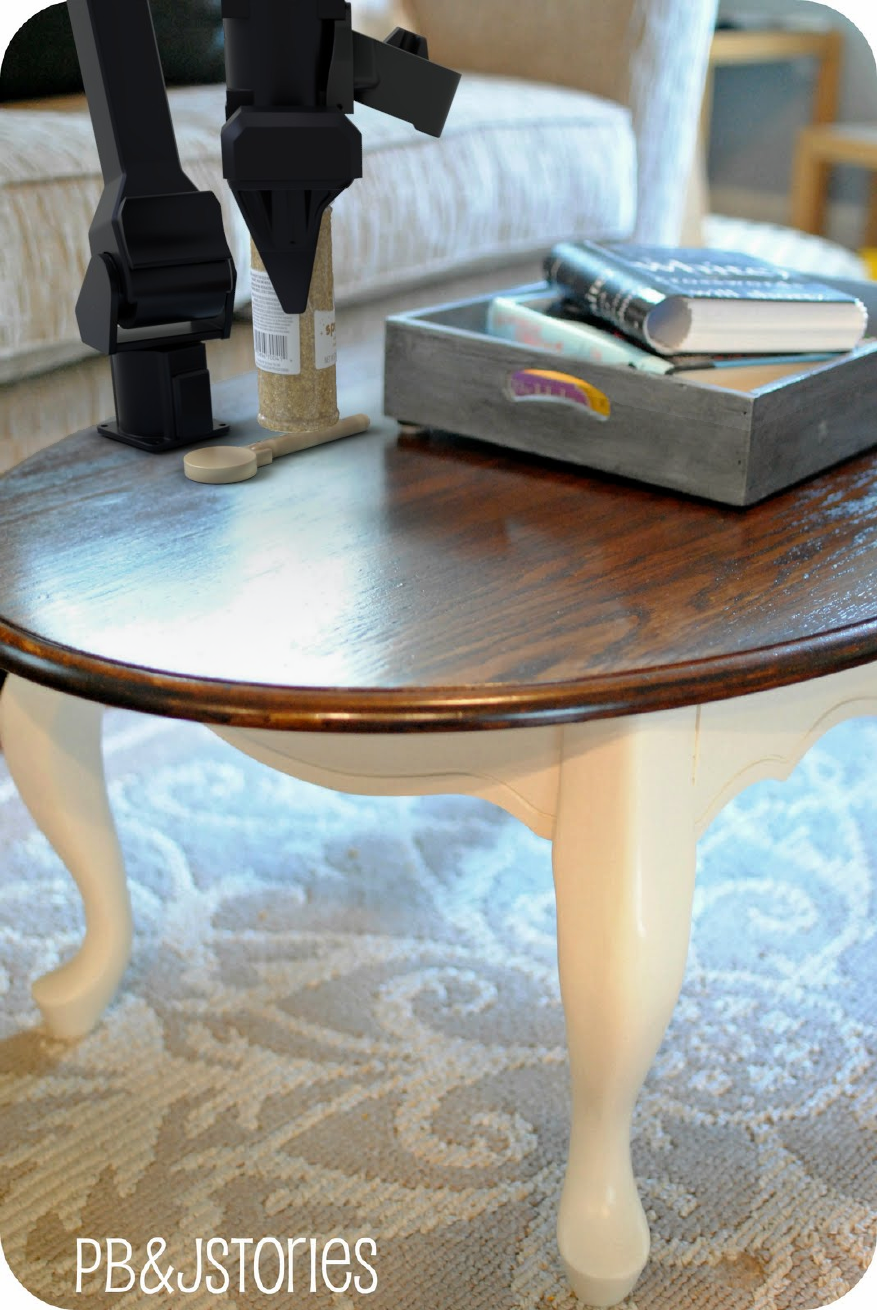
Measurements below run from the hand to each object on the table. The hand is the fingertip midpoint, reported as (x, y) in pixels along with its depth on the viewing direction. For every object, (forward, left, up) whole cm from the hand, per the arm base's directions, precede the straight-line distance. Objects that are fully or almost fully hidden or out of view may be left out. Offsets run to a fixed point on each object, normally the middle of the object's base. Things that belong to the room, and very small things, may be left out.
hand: (293, 303), depth 71 cm
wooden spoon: (-9, +7, -12) cm, 16 cm away
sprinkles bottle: (0, 0, -7) cm, 7 cm away
